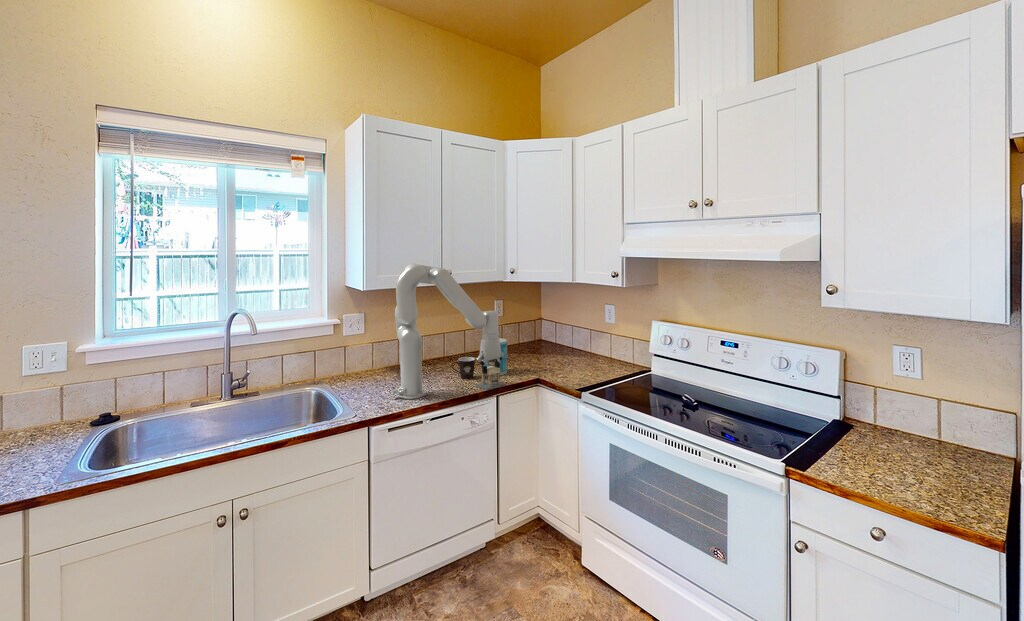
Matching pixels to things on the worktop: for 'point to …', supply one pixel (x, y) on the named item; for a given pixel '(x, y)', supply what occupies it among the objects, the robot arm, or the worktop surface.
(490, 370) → the wooden u-shaped block
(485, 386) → the mat
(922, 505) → the worktop surface
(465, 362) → the coffee mug
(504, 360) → the food can
